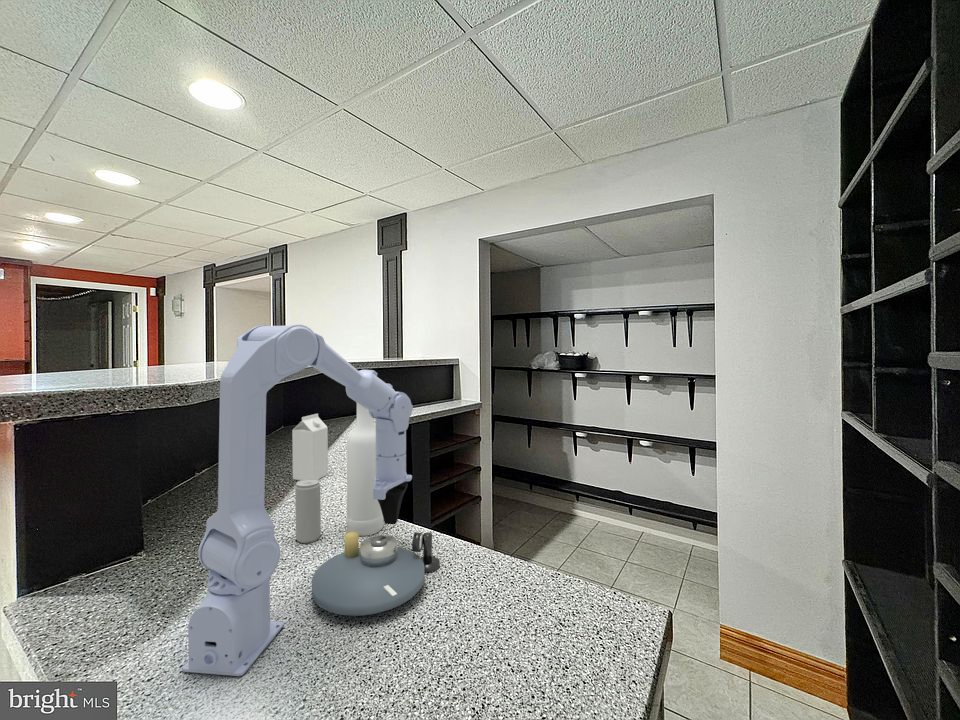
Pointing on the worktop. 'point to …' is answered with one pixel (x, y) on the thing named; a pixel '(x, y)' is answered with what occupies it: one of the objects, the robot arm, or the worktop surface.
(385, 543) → the cover
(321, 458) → the milk carton
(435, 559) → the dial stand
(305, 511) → the beverage can
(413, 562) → the turntable
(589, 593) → the worktop surface
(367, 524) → the bottle
